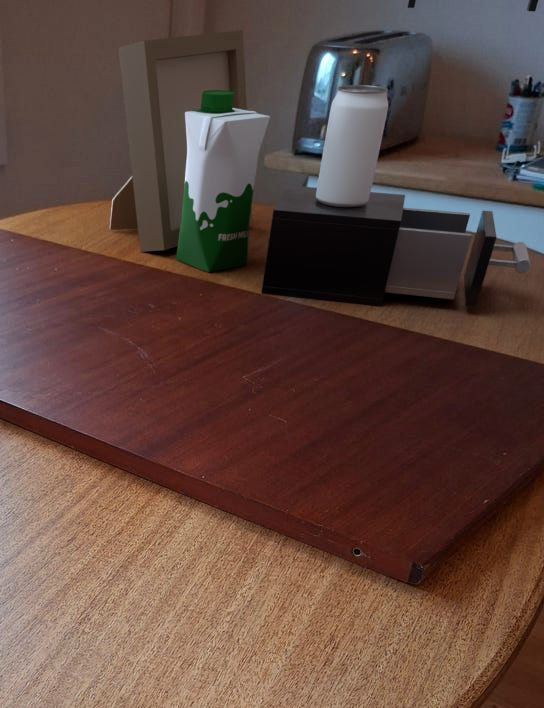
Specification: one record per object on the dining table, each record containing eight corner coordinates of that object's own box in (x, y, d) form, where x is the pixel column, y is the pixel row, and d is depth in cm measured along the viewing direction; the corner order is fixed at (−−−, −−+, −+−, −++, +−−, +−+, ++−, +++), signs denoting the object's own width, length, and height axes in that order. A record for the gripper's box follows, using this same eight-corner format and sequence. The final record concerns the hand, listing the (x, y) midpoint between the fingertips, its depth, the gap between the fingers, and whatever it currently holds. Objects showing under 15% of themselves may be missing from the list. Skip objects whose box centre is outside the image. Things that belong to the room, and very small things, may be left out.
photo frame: (251, 228, 136) (277, 32, 120) (163, 257, 123) (179, 44, 108) (175, 211, 144) (190, 25, 128) (86, 237, 131) (90, 35, 115)
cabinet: (387, 274, 118) (405, 194, 112) (381, 306, 108) (401, 220, 102) (276, 263, 122) (288, 185, 115) (261, 293, 112) (273, 209, 105)
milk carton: (213, 249, 126) (231, 87, 114) (257, 265, 121) (281, 96, 108) (166, 259, 123) (179, 92, 110) (208, 276, 117) (227, 102, 104)
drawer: (512, 280, 113) (534, 214, 108) (518, 311, 104) (542, 241, 99) (366, 265, 118) (380, 201, 113) (359, 294, 108) (374, 226, 103)
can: (359, 210, 105) (383, 94, 98) (307, 203, 108) (326, 89, 100) (374, 200, 109) (398, 87, 102) (324, 193, 112) (344, 83, 104)
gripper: (656, -240, 92) (579, 10, 105) (407, -231, 98) (365, 4, 111) (670, -251, 86) (587, 14, 99) (405, -241, 92) (361, 7, 106)
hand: (469, 9), depth 105 cm, fingers open, 13 cm apart
